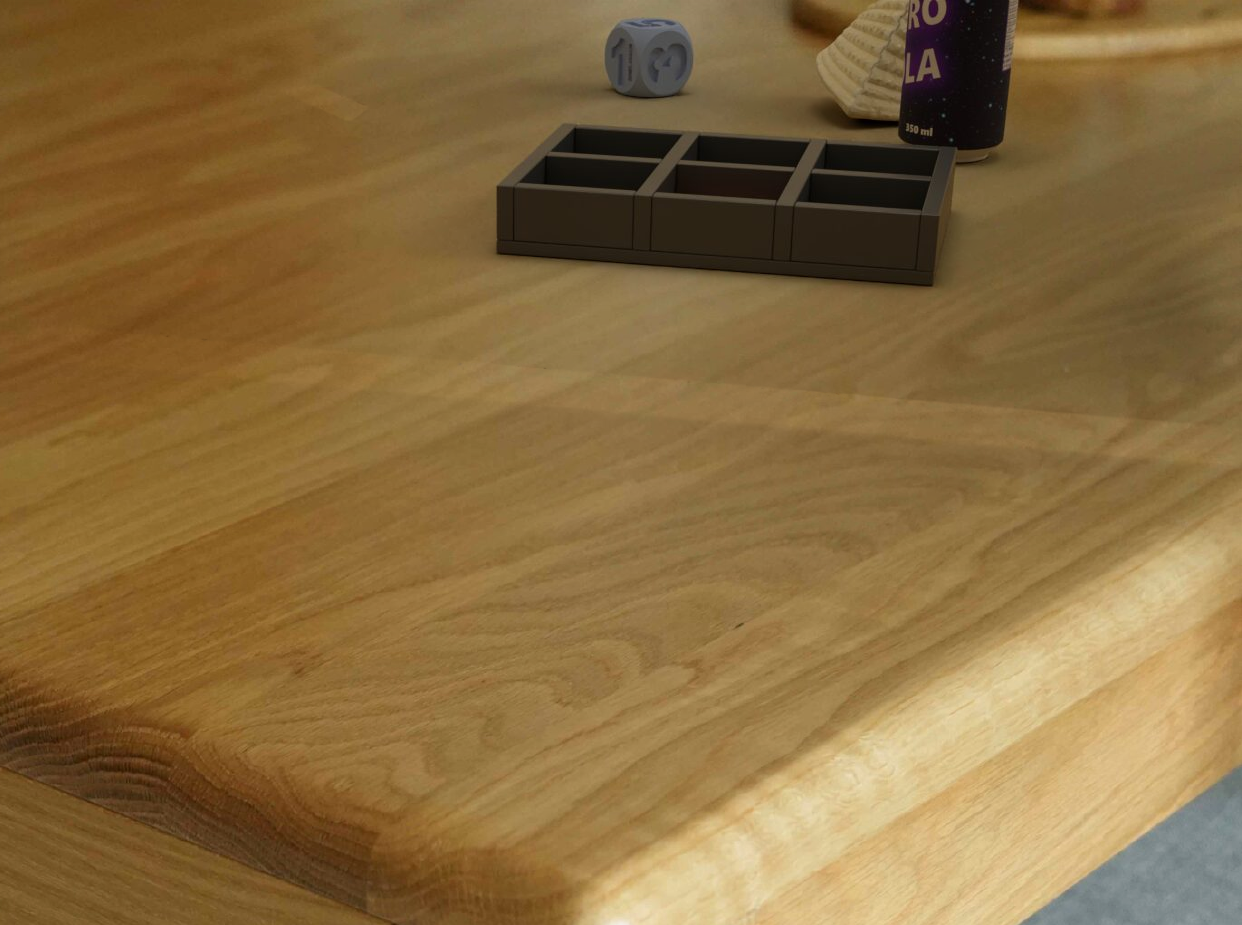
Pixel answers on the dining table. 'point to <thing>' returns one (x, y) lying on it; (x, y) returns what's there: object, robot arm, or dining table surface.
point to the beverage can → (957, 74)
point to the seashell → (868, 62)
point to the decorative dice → (648, 57)
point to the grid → (731, 202)
